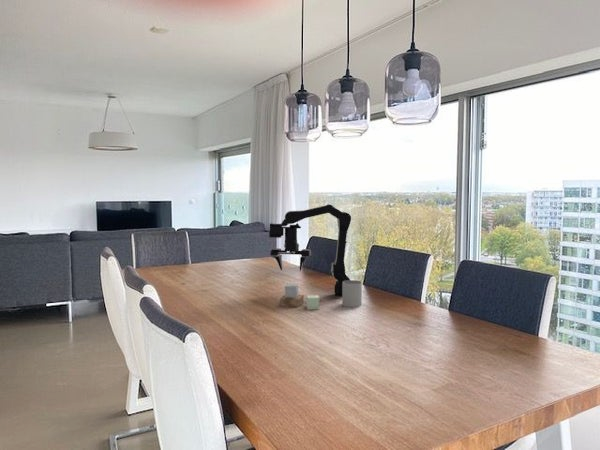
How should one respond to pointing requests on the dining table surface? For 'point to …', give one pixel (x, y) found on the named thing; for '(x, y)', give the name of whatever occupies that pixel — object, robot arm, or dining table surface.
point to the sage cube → (312, 302)
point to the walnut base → (292, 301)
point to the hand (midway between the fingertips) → (290, 270)
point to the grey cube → (291, 290)
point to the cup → (352, 293)
